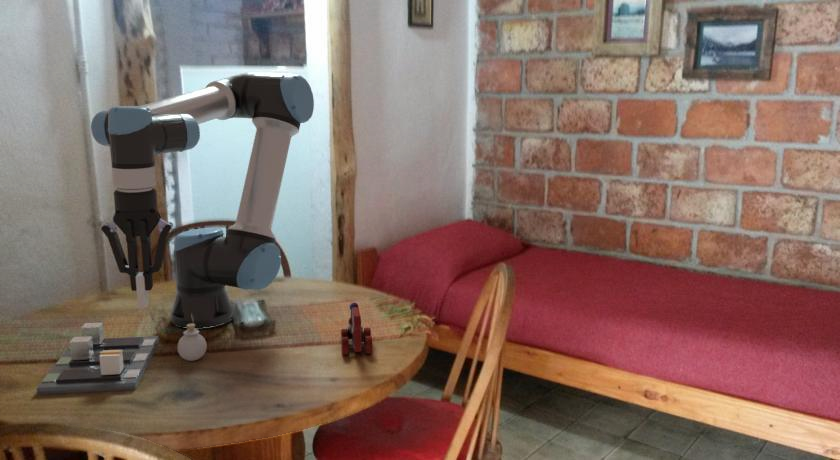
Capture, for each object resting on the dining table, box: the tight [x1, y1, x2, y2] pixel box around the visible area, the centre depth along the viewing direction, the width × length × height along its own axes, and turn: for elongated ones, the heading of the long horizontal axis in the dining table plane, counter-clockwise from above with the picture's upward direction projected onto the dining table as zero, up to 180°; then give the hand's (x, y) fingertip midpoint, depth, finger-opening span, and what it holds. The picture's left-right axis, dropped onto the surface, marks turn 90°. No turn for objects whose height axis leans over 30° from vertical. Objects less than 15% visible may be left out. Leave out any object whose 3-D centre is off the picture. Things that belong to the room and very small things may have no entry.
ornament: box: [177, 313, 208, 362], centre depth 148 cm, size 6×7×10 cm
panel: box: [36, 322, 160, 396], centre depth 143 cm, size 18×24×6 cm
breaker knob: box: [99, 350, 124, 375], centre depth 136 cm, size 4×3×4 cm
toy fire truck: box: [340, 302, 374, 356], centre depth 155 cm, size 7×12×10 cm, turn 8°
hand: (143, 305), depth 134 cm, fingers closed
